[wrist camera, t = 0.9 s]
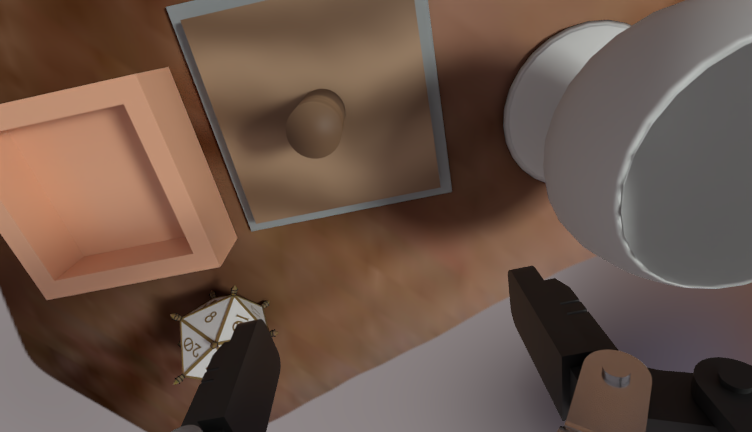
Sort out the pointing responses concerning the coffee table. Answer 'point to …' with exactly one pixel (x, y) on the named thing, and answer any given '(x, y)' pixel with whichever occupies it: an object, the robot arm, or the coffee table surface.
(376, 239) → the coffee table surface
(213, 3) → the mat
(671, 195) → the chalice
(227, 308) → the game die
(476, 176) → the coffee table surface
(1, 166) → the pink square tray
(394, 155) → the lid
